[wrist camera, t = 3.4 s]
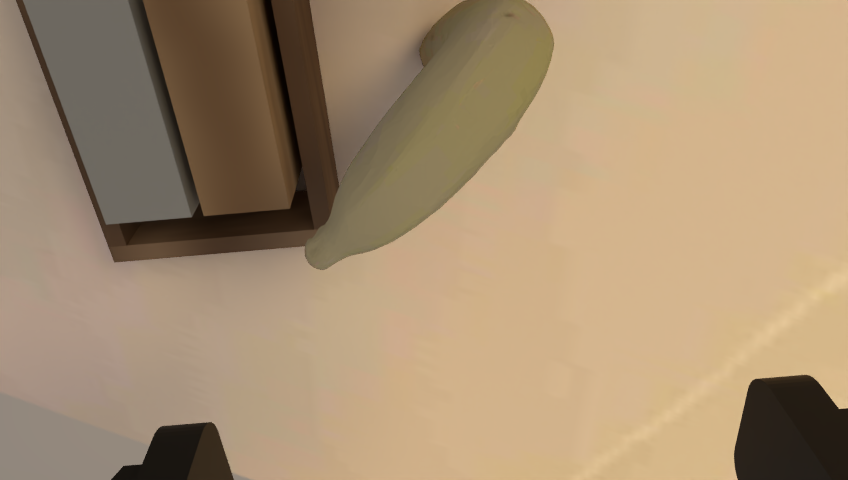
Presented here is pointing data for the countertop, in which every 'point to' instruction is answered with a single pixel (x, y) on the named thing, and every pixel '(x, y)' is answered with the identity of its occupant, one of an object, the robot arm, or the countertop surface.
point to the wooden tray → (251, 226)
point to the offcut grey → (117, 106)
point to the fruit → (439, 125)
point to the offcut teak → (229, 101)
